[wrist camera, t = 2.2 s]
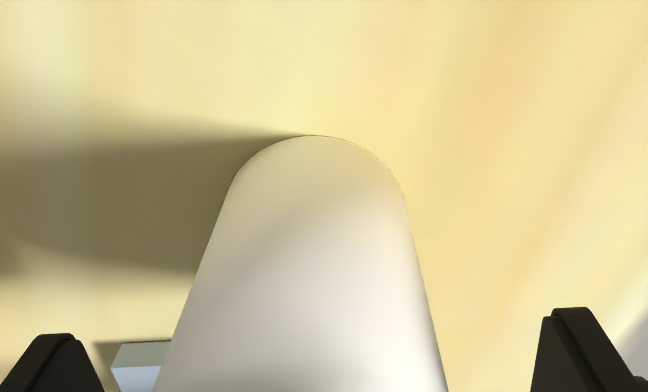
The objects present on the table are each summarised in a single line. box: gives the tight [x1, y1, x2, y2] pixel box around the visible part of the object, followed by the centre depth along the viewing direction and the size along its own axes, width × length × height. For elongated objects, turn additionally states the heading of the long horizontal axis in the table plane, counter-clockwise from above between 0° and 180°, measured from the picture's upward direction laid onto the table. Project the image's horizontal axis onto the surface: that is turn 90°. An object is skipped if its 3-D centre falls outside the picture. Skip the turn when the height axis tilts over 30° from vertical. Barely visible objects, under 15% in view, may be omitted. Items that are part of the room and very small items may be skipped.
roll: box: [152, 136, 449, 392], centre depth 10 cm, size 5×5×7 cm
